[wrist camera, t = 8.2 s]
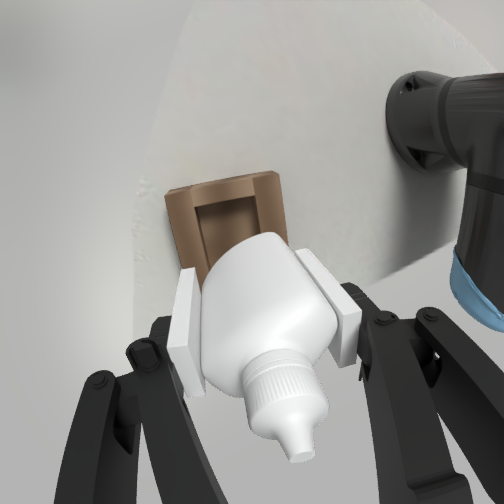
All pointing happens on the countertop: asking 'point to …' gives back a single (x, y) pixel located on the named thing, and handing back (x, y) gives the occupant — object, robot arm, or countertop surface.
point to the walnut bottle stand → (223, 217)
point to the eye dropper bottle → (268, 340)
